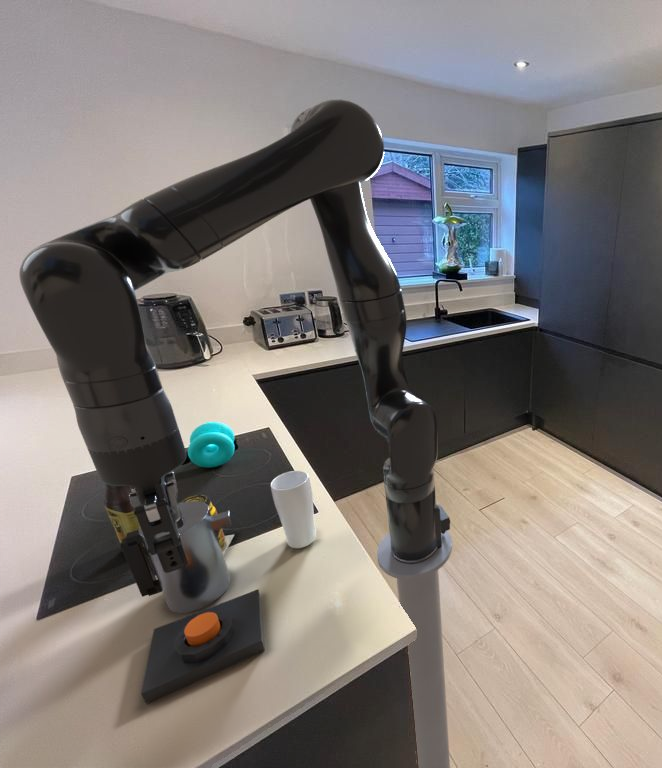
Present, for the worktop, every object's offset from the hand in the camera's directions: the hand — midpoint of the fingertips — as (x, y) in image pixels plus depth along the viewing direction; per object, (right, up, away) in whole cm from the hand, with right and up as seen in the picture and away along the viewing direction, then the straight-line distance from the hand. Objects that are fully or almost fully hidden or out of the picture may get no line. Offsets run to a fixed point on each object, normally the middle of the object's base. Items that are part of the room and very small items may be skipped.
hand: (175, 546), depth 50 cm
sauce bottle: (-32, -13, +31) cm, 46 cm away
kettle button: (-4, -17, +10) cm, 20 cm away
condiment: (-20, -13, +30) cm, 38 cm away
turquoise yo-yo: (-40, -1, +61) cm, 73 cm away
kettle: (-14, -17, +21) cm, 30 cm away
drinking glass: (-1, -12, +33) cm, 35 cm away
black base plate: (-5, -20, +12) cm, 24 cm away
